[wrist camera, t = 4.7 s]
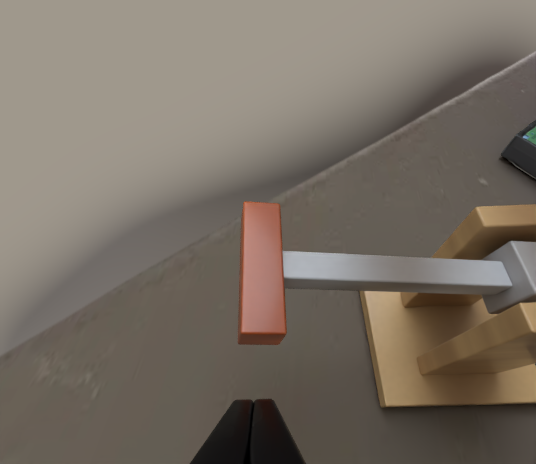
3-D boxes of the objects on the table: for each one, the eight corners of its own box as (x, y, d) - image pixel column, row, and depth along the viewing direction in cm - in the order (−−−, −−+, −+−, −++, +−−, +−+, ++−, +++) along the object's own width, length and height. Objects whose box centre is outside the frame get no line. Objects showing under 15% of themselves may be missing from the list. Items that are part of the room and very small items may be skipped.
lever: (236, 348, 11) (241, 330, 9) (240, 227, 14) (244, 192, 12) (564, 350, 13) (629, 335, 11) (511, 242, 15) (555, 214, 13)
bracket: (380, 407, 19) (477, 386, 9) (356, 280, 23) (408, 179, 14) (537, 403, 18) (792, 378, 9) (484, 275, 23) (623, 171, 13)
